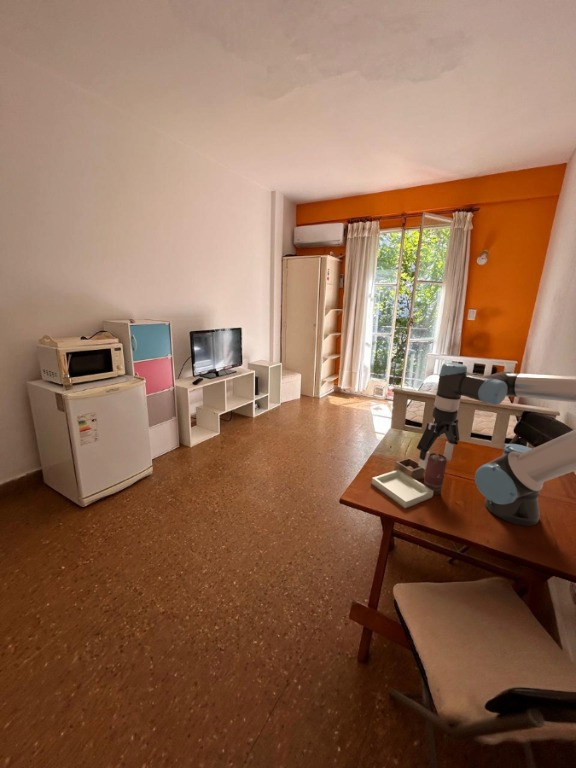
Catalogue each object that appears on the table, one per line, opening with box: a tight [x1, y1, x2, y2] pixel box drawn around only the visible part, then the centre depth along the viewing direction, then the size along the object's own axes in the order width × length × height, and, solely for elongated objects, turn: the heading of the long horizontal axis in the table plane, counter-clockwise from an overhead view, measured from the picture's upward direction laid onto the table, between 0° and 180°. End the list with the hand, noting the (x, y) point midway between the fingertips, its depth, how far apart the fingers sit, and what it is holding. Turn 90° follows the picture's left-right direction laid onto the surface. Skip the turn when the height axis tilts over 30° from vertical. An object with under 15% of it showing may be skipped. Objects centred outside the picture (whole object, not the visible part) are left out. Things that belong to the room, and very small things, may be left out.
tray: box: [371, 469, 434, 509], centre depth 116 cm, size 16×14×3 cm
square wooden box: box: [393, 457, 426, 481], centre depth 126 cm, size 8×8×5 cm
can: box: [422, 452, 448, 496], centre depth 116 cm, size 6×6×14 cm
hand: (434, 463), depth 114 cm, fingers open, 13 cm apart
